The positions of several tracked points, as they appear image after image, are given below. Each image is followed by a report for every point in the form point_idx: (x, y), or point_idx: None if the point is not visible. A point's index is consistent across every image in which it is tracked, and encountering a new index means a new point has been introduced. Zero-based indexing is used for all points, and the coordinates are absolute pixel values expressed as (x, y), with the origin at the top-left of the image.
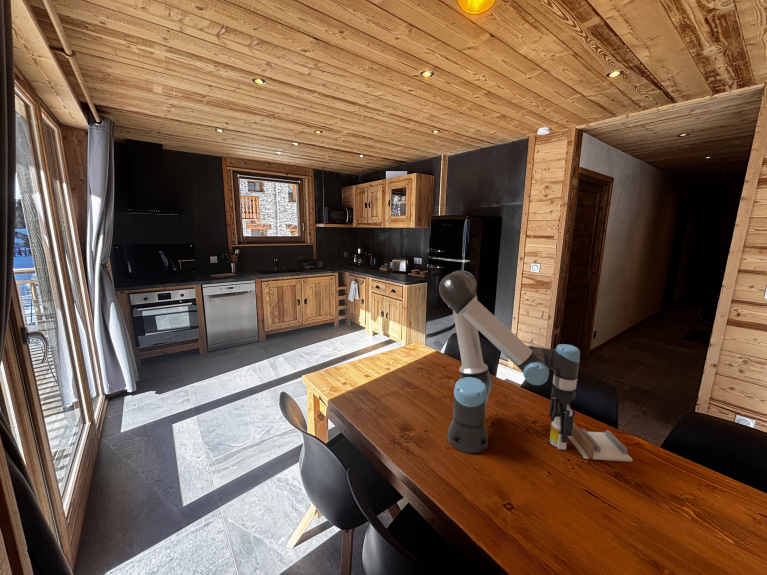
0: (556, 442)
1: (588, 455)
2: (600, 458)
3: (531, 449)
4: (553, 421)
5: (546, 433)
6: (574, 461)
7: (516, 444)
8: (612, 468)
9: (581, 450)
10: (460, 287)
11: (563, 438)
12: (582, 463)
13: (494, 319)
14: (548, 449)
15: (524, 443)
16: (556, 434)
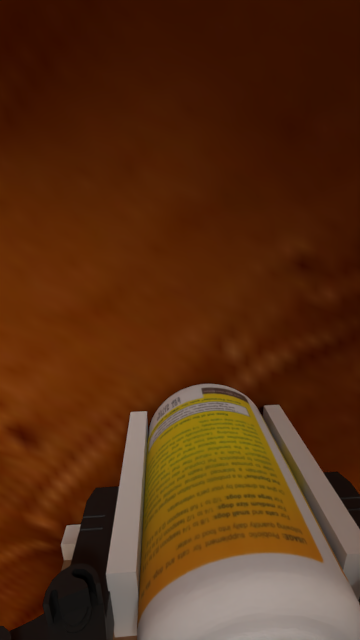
0: (158, 433)
1: (65, 565)
2: None
3: (96, 178)
4: (338, 624)
5: (332, 395)
6: (18, 464)
7: (157, 16)
8: (14, 609)
9: None
10: None
11: (75, 546)
12: (11, 499)
13: None
14: (125, 339)
15: (186, 135)
16: (161, 500)
